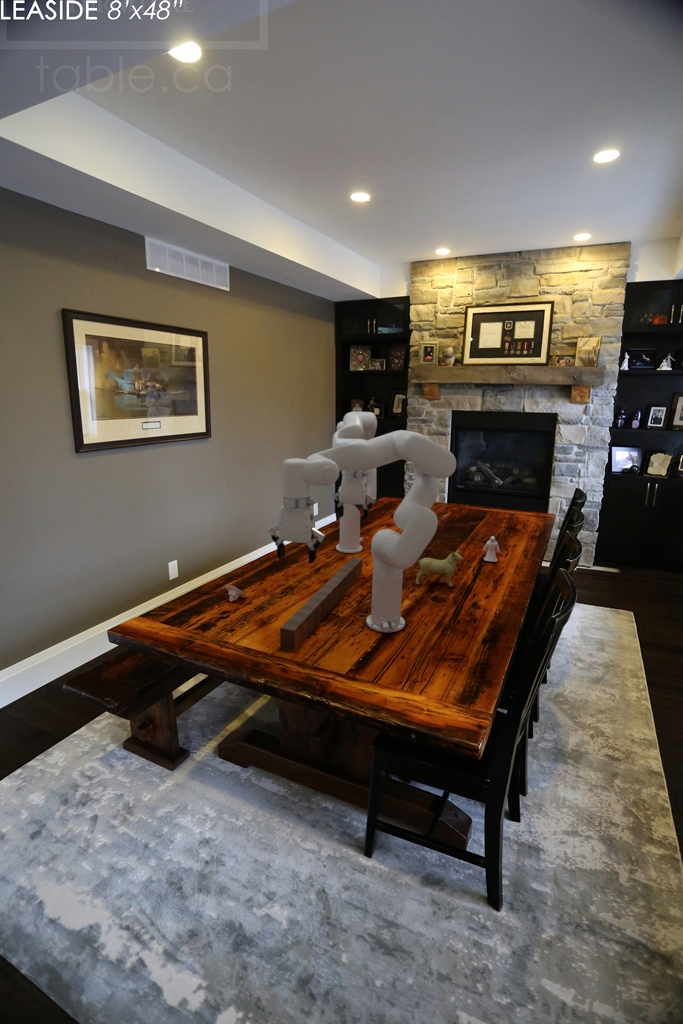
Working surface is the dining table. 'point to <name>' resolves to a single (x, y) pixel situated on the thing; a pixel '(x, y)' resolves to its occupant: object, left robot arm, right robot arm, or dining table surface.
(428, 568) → the toy
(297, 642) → the beam
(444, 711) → the dining table surface
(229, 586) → the seashell
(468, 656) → the dining table surface
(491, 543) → the figurine
